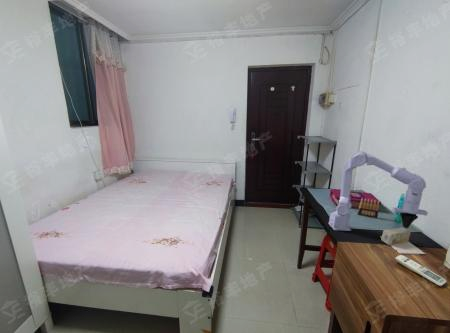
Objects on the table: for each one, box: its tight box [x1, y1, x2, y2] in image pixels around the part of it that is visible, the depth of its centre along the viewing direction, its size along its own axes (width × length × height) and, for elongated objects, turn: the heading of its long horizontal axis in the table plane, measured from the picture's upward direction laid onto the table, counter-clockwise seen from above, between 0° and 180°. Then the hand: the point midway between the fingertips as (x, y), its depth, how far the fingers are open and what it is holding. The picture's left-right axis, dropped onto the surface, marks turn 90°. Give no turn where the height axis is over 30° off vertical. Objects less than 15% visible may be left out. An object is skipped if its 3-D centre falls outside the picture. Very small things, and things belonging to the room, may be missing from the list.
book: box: [329, 188, 382, 213], centre depth 158 cm, size 21×28×8 cm
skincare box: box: [380, 227, 412, 246], centre depth 109 cm, size 6×4×12 cm
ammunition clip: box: [357, 198, 381, 219], centre depth 137 cm, size 11×2×12 cm, turn 66°
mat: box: [380, 235, 426, 255], centre depth 108 cm, size 12×14×1 cm
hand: (405, 227), depth 105 cm, fingers closed
